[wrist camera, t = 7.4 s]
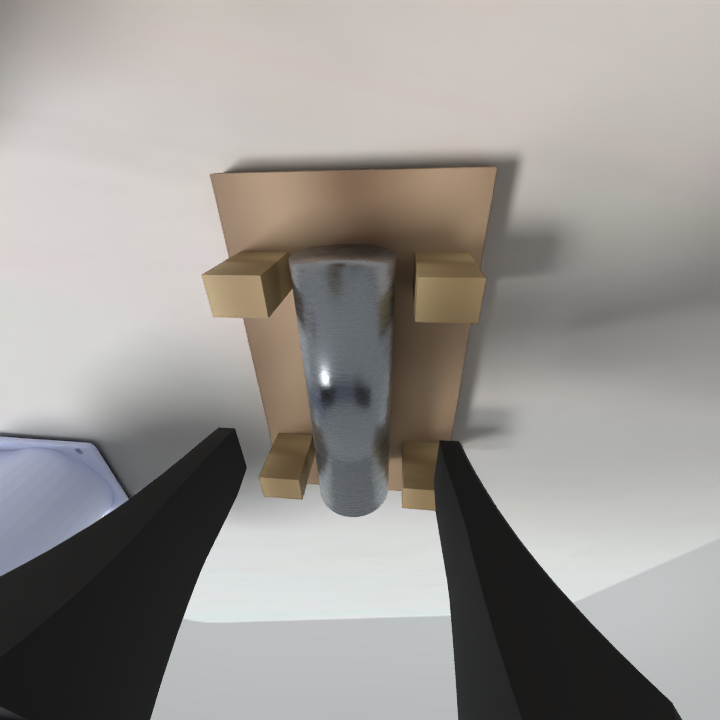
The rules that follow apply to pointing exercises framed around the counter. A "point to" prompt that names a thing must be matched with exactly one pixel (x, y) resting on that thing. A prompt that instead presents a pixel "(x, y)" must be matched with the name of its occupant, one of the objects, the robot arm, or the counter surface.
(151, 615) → the robot arm
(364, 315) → the tube
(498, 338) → the counter surface
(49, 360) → the counter surface
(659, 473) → the counter surface
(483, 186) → the stand
